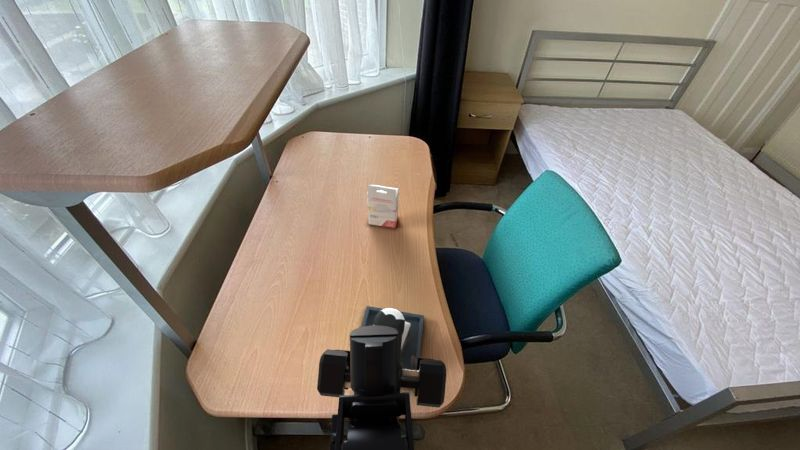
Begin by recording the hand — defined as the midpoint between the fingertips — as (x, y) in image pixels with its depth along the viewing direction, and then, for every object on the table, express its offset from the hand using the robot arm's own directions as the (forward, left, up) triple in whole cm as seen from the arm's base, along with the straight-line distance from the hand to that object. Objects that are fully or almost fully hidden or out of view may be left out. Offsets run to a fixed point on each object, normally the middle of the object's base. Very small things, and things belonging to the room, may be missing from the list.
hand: (385, 355), depth 57 cm
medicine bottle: (+7, +1, -13) cm, 15 cm away
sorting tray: (+8, +1, -14) cm, 16 cm away
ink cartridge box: (+47, +10, -14) cm, 49 cm away
